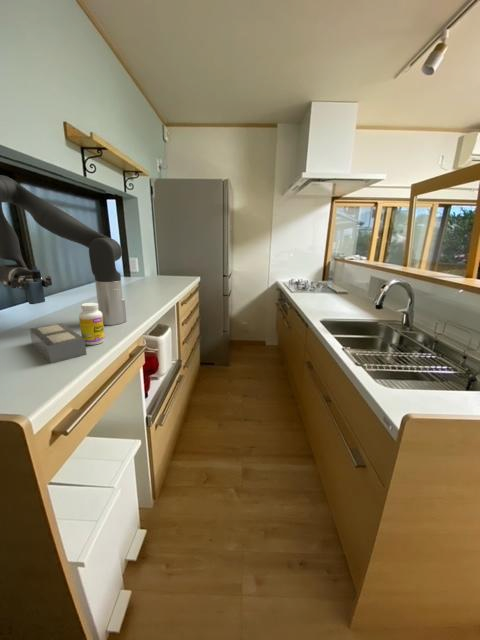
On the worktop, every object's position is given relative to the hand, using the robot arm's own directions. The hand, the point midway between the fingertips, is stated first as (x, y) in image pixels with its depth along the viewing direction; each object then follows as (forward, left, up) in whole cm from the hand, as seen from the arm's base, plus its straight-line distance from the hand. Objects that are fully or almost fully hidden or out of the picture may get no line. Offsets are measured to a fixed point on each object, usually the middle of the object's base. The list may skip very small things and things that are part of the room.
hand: (36, 284), depth 89 cm
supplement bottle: (-9, +18, -18) cm, 27 cm away
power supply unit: (+1, +17, -18) cm, 24 cm away
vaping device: (0, -3, -7) cm, 7 cm away
